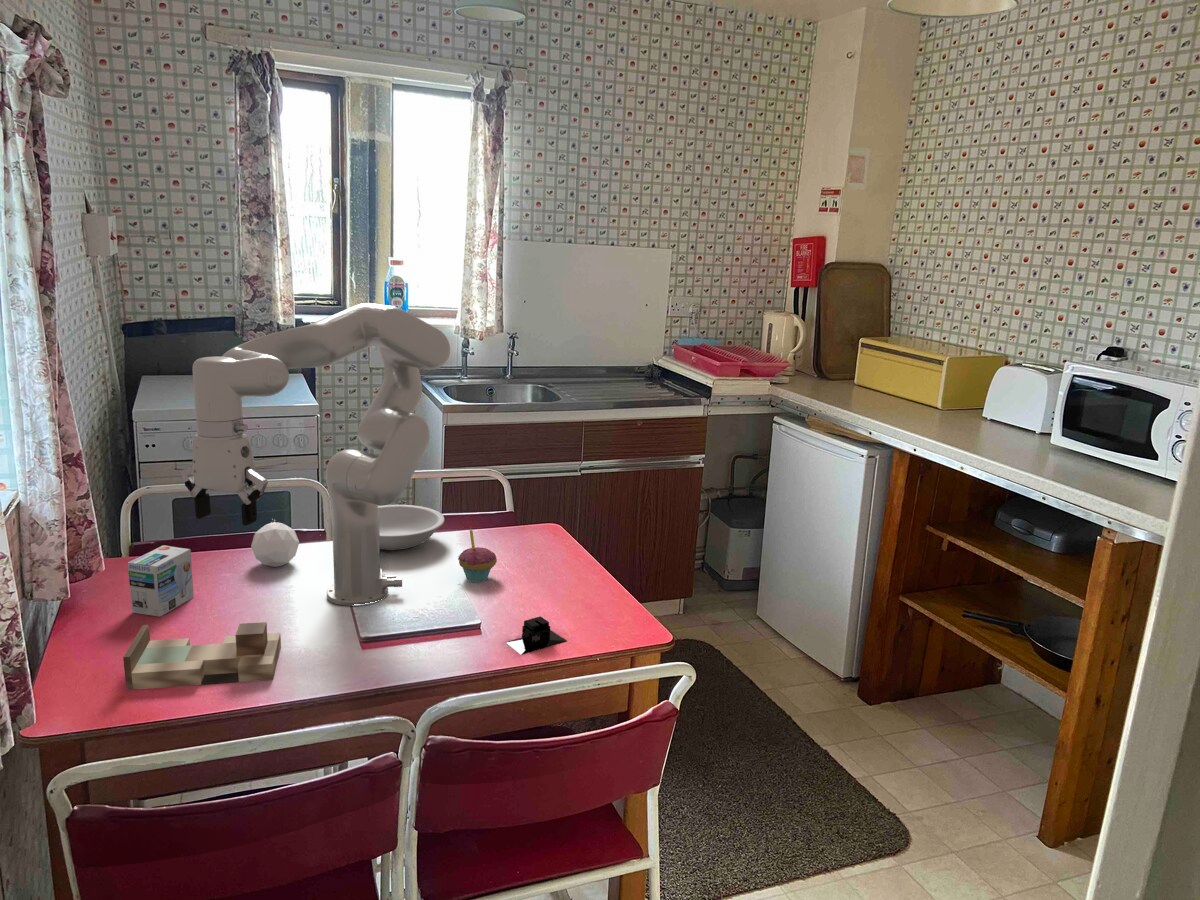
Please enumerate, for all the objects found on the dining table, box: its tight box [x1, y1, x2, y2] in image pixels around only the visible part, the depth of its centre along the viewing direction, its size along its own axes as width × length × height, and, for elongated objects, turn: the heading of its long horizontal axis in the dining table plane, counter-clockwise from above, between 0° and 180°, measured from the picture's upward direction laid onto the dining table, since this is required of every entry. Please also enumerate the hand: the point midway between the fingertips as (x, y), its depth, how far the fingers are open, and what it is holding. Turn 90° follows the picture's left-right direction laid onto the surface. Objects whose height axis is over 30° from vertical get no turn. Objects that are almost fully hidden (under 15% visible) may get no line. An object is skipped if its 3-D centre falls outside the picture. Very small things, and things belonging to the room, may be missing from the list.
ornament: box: [250, 518, 300, 568], centre depth 200 cm, size 10×10×15 cm
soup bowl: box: [378, 504, 445, 551], centre depth 215 cm, size 24×24×7 cm
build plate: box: [505, 615, 568, 655], centre depth 168 cm, size 13×8×5 cm, turn 127°
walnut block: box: [235, 621, 268, 656], centre depth 153 cm, size 4×4×4 cm
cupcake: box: [457, 526, 498, 583], centre depth 196 cm, size 9×8×12 cm
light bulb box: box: [127, 545, 195, 618], centre depth 175 cm, size 11×7×11 cm, turn 168°
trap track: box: [122, 624, 282, 691], centre depth 152 cm, size 23×12×6 cm, turn 103°
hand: (226, 519), depth 157 cm, fingers open, 9 cm apart
